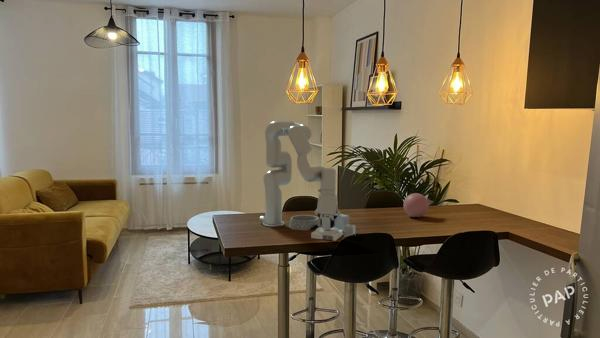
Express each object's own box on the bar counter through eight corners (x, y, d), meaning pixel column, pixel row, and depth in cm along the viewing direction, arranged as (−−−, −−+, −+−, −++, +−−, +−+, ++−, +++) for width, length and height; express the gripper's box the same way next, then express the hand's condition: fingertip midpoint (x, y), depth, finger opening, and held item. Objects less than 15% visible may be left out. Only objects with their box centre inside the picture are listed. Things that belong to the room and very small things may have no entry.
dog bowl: (282, 226, 243) (282, 217, 242) (307, 221, 254) (307, 213, 254) (301, 232, 230) (302, 222, 229) (326, 227, 241) (326, 218, 241)
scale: (310, 238, 216) (310, 231, 216) (319, 232, 229) (319, 225, 229) (334, 241, 211) (335, 234, 211) (342, 234, 224) (343, 228, 224)
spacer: (344, 237, 219) (344, 225, 218) (346, 235, 223) (347, 224, 222) (352, 238, 217) (353, 226, 216) (355, 236, 221) (355, 224, 221)
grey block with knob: (321, 228, 219) (321, 216, 218) (324, 226, 223) (324, 215, 222) (330, 229, 217) (330, 217, 216) (332, 227, 221) (333, 215, 221)
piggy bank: (439, 219, 264) (440, 194, 263) (409, 220, 260) (410, 195, 258) (427, 214, 279) (428, 191, 277) (398, 215, 275) (399, 191, 273)
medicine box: (349, 231, 232) (349, 215, 231) (344, 232, 229) (344, 216, 228) (338, 228, 238) (338, 213, 237) (333, 229, 234) (333, 214, 234)
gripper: (310, 192, 218) (309, 226, 220) (341, 194, 211) (340, 230, 213) (315, 190, 225) (314, 223, 227) (345, 192, 218) (345, 226, 220)
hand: (327, 226), depth 220 cm, fingers closed on grey block with knob, 4 cm apart
